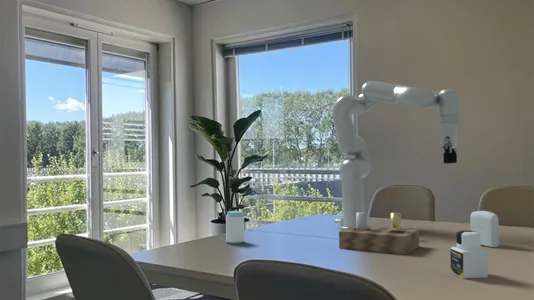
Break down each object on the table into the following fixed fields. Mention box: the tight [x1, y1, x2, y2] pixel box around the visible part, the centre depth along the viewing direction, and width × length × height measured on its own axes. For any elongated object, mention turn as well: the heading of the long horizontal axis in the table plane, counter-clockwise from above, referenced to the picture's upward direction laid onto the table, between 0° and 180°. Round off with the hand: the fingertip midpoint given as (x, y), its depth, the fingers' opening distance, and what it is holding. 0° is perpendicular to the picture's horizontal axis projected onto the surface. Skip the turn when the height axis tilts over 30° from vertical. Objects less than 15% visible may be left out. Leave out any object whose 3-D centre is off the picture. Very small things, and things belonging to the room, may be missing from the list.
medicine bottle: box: [450, 230, 489, 280], centre depth 130 cm, size 7×7×12 cm
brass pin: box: [389, 212, 402, 229], centre depth 187 cm, size 4×4×10 cm
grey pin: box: [356, 211, 368, 231], centre depth 174 cm, size 4×4×10 cm
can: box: [225, 210, 245, 245], centre depth 184 cm, size 7×7×12 cm
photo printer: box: [469, 210, 500, 248], centre depth 171 cm, size 10×4×12 cm, turn 26°
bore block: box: [338, 225, 420, 256], centre depth 170 cm, size 24×16×6 cm, turn 58°
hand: (450, 163), depth 190 cm, fingers open, 9 cm apart
